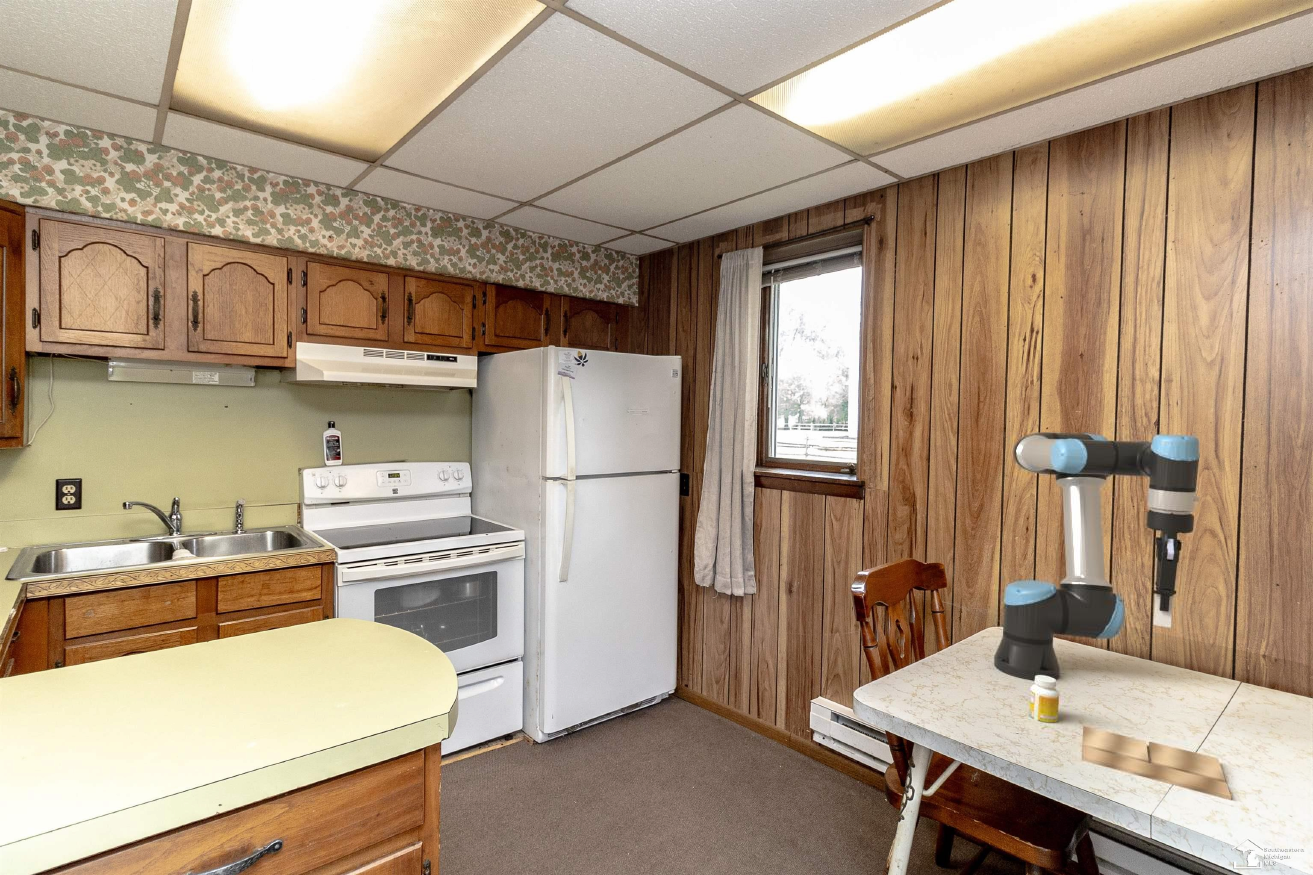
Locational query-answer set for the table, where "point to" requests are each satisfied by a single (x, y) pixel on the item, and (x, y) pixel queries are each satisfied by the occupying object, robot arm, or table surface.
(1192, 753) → the plank
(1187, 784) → the laid floorboard
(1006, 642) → the robot arm
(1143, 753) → the plank
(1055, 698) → the supplement bottle
